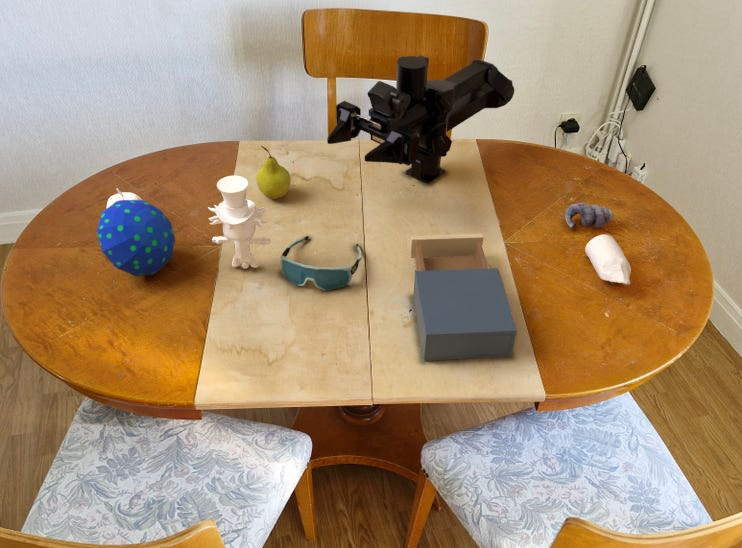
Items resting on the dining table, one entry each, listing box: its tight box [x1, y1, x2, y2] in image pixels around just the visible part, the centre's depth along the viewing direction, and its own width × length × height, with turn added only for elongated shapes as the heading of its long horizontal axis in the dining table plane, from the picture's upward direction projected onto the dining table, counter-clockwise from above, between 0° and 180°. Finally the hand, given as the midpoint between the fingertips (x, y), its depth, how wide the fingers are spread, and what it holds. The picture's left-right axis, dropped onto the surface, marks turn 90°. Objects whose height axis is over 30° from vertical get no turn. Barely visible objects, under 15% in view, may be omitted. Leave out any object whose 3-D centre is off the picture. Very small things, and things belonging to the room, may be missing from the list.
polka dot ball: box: [96, 199, 176, 278], centre depth 124 cm, size 14×14×15 cm
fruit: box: [255, 145, 292, 200], centre depth 140 cm, size 7×7×12 cm
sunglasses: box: [280, 235, 362, 292], centre depth 128 cm, size 14×15×5 cm
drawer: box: [409, 233, 489, 271], centre depth 125 cm, size 16×13×4 cm
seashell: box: [563, 202, 615, 230], centre depth 138 cm, size 5×5×10 cm
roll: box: [584, 234, 632, 286], centre depth 127 cm, size 6×12×6 cm, turn 8°
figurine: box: [207, 175, 271, 270], centre depth 121 cm, size 10×8×18 cm
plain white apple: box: [106, 187, 143, 209], centre depth 134 cm, size 7×7×8 cm
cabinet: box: [412, 267, 518, 362], centre depth 117 cm, size 16×15×6 cm
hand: (346, 149), depth 126 cm, fingers open, 9 cm apart
